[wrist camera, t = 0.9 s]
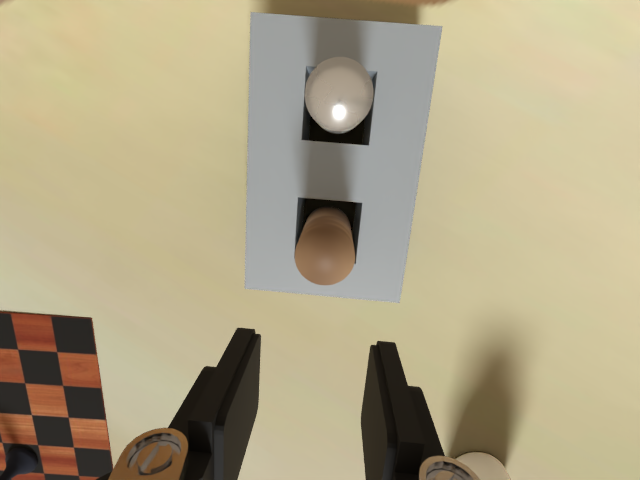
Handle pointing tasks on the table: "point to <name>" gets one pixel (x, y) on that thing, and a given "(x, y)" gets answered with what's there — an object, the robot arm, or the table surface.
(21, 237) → the table surface
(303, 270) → the brown rounded cylinder
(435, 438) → the robot arm
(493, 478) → the milk bottle
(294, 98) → the socket board
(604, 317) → the table surface
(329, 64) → the steel peg
